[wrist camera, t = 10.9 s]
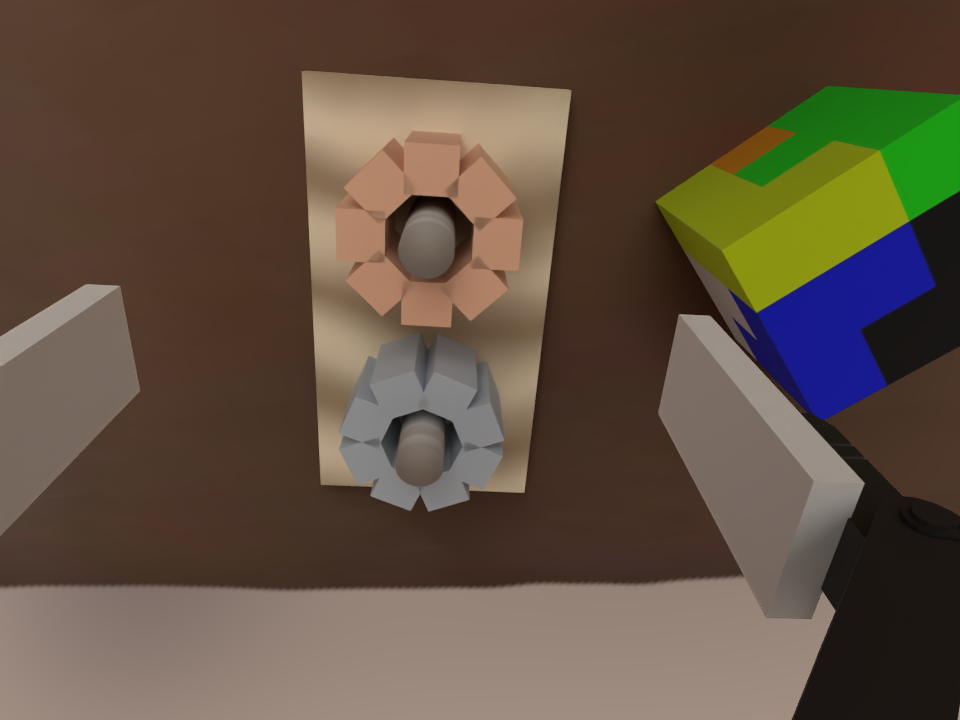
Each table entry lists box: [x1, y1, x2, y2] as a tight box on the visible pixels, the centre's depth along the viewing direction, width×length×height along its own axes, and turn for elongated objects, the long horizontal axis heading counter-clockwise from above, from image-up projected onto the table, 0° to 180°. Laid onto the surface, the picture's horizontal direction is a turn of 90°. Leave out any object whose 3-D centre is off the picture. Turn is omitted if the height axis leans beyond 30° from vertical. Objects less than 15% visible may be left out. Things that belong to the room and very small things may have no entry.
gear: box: [339, 332, 505, 512], centre depth 36 cm, size 8×8×5 cm
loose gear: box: [335, 130, 523, 327], centre depth 31 cm, size 8×8×5 cm
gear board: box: [302, 71, 571, 493], centre depth 33 cm, size 24×13×8 cm, turn 176°
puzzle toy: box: [655, 86, 960, 420], centre depth 31 cm, size 10×10×10 cm
